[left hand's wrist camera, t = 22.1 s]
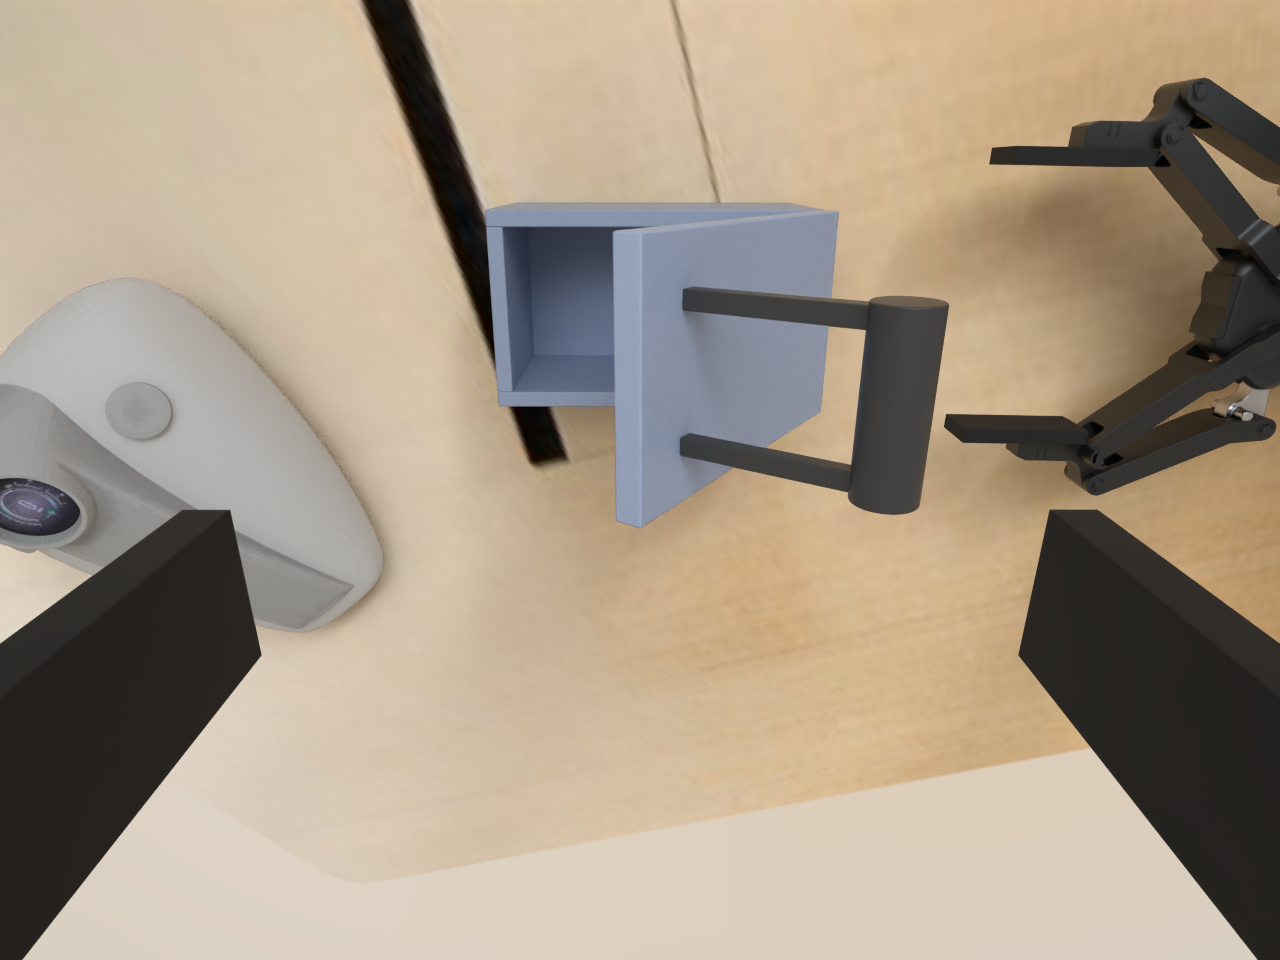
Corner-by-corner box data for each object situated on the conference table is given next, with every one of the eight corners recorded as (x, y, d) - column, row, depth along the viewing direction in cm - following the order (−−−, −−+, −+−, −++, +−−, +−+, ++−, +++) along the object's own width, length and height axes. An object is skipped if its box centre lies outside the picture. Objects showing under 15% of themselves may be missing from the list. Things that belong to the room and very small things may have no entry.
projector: (75, 599, 54) (-117, 744, 40) (-10, 259, 45) (-290, 296, 31) (394, 614, 54) (312, 762, 40) (370, 280, 46) (255, 325, 32)
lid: (614, 522, 26) (883, 598, 21) (611, 230, 23) (931, 246, 18) (801, 408, 39) (995, 441, 34) (817, 210, 35) (1036, 216, 31)
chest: (524, 364, 48) (498, 406, 39) (515, 202, 44) (484, 209, 36) (778, 364, 48) (808, 407, 39) (789, 202, 44) (825, 210, 36)
